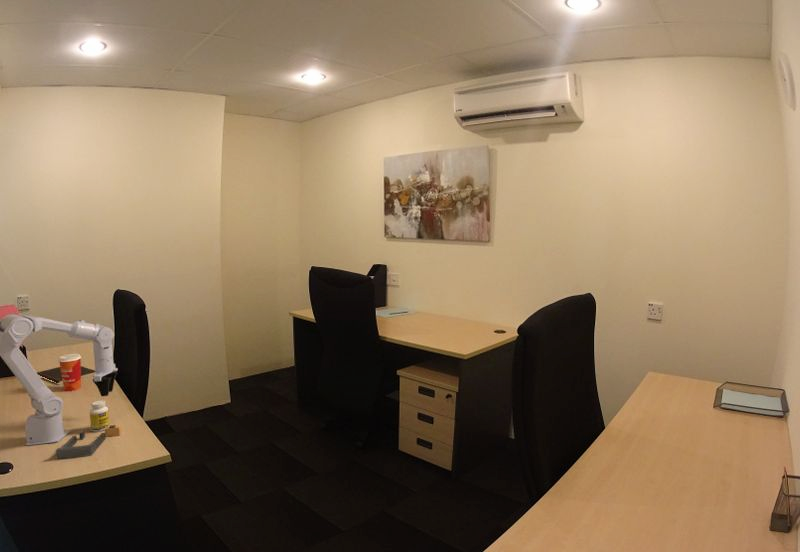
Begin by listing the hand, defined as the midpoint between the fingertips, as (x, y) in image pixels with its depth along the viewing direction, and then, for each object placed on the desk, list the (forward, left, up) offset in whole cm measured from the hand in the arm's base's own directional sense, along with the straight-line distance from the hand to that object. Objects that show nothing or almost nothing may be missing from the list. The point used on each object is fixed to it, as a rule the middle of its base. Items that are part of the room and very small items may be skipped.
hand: (106, 393), depth 165 cm
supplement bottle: (0, -8, -10) cm, 13 cm away
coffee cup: (-27, +39, -10) cm, 49 cm away
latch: (+6, -15, -10) cm, 19 cm away
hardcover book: (-39, +60, -11) cm, 72 cm away
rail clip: (0, -21, -10) cm, 23 cm away
